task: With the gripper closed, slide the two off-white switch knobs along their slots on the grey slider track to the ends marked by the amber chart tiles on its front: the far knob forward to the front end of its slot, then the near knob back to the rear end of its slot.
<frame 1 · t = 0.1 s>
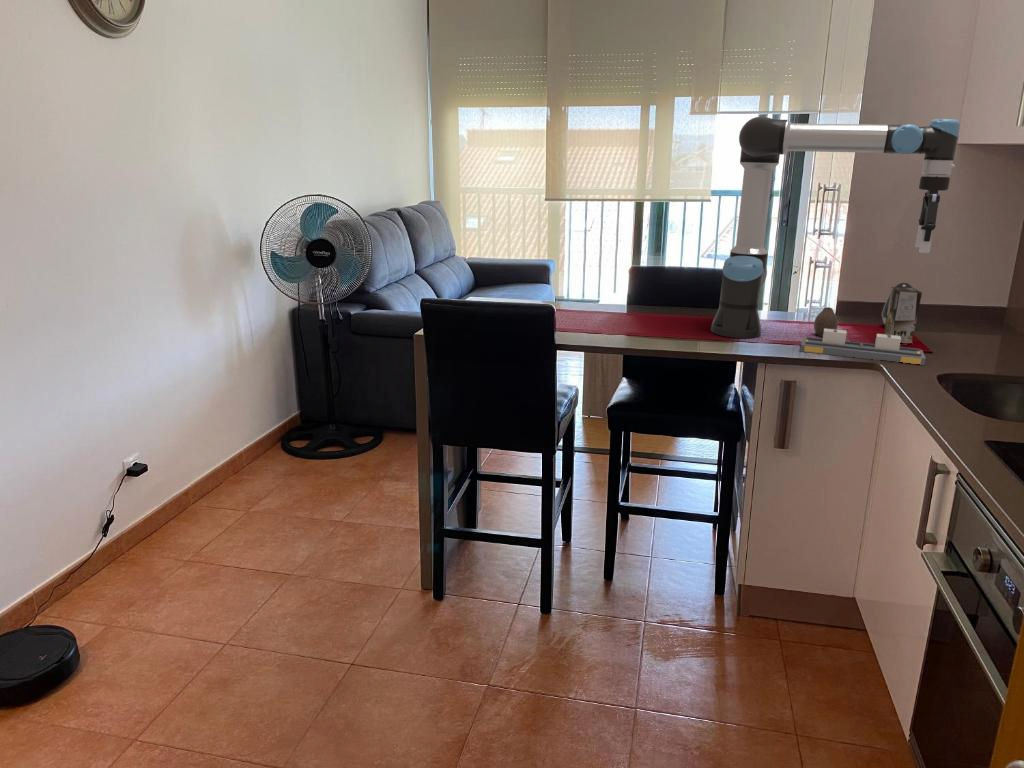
hand: (921, 250, 223), 28 cm above the worktop, tool pointing down, fingers open, 13 cm apart
slider b: (886, 350, 213), point 2 cm above the worktop, touching grey slider track
coffee box: (897, 341, 232), on the worktop
grey slider track: (860, 354, 216), on the worktop
slider a: (833, 344, 218), point 2 cm above the worktop, touching grey slider track
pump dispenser: (896, 328, 249), on the worktop
vase: (824, 336, 237), on the worktop
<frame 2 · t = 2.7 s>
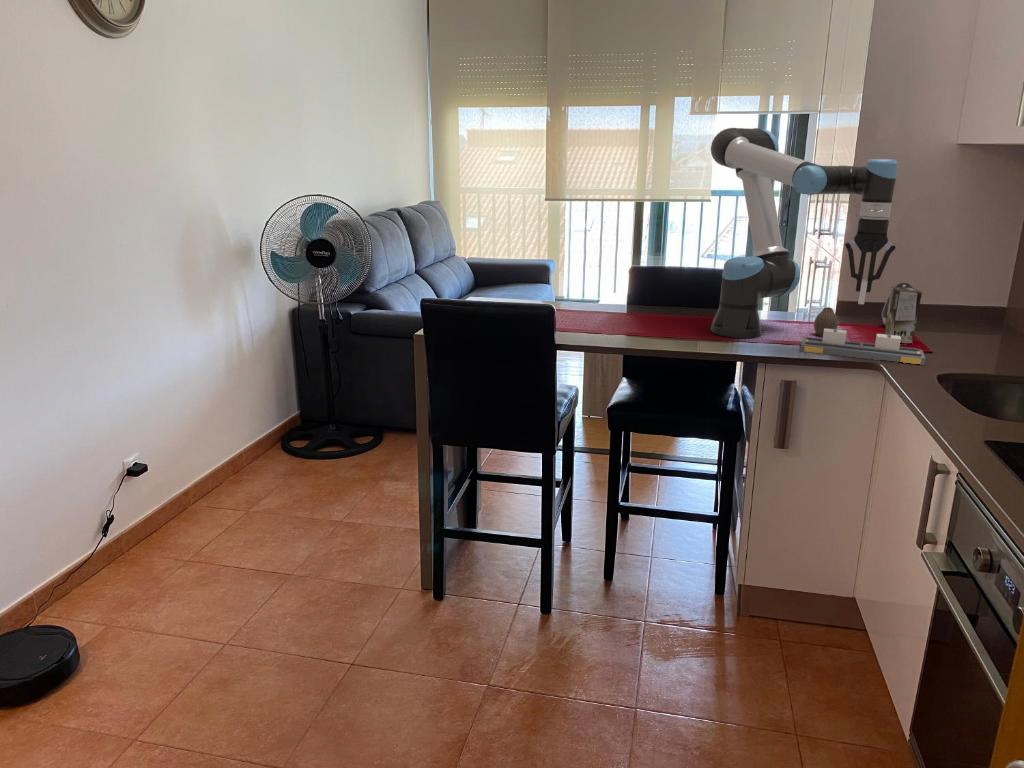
hand: (861, 303, 212), 15 cm above the worktop, tool pointing down, fingers closed
nothing on the worktop moved.
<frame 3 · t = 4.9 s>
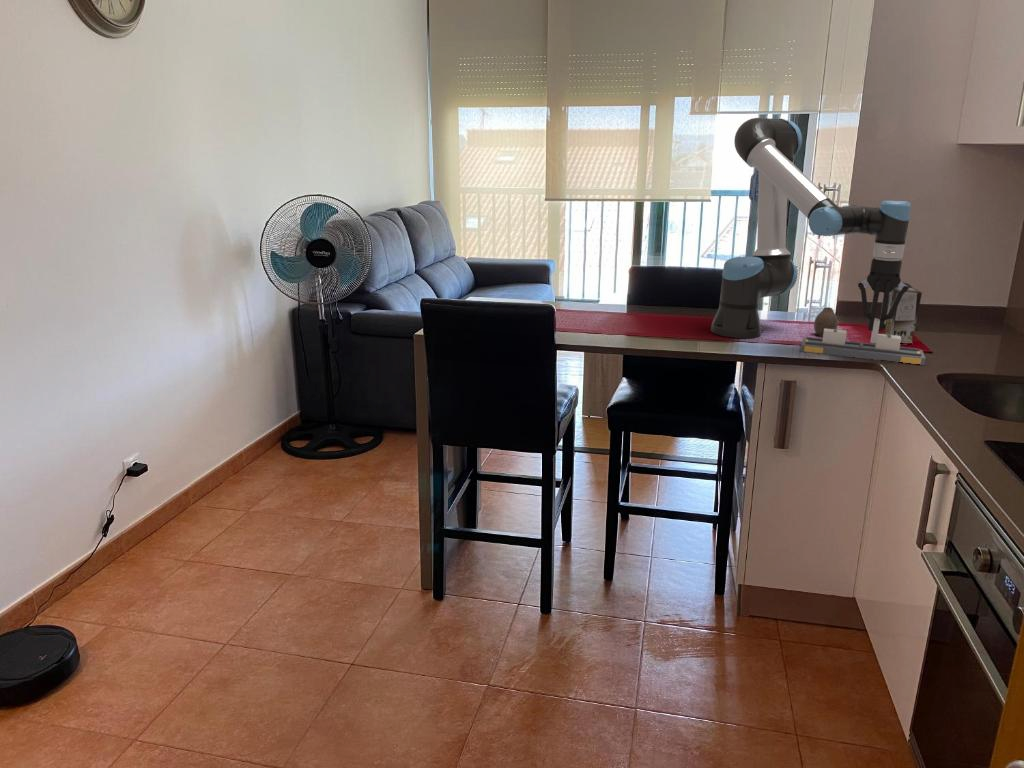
hand: (873, 342, 213), 4 cm above the worktop, tool pointing down, fingers closed
slider b: (886, 350, 213), point 2 cm above the worktop, touching gripper
everything else where it was.
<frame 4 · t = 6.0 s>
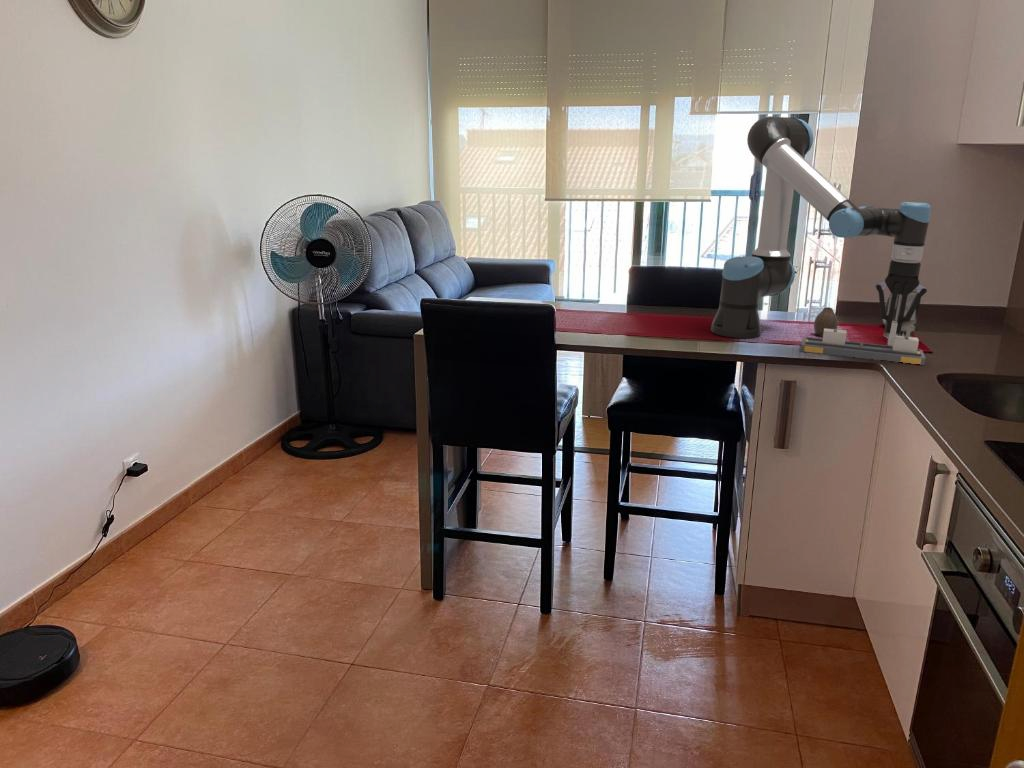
hand: (890, 344, 212), 4 cm above the worktop, tool pointing down, fingers closed
slider b: (903, 351, 211), point 2 cm above the worktop, touching grey slider track, gripper
everything else where it was.
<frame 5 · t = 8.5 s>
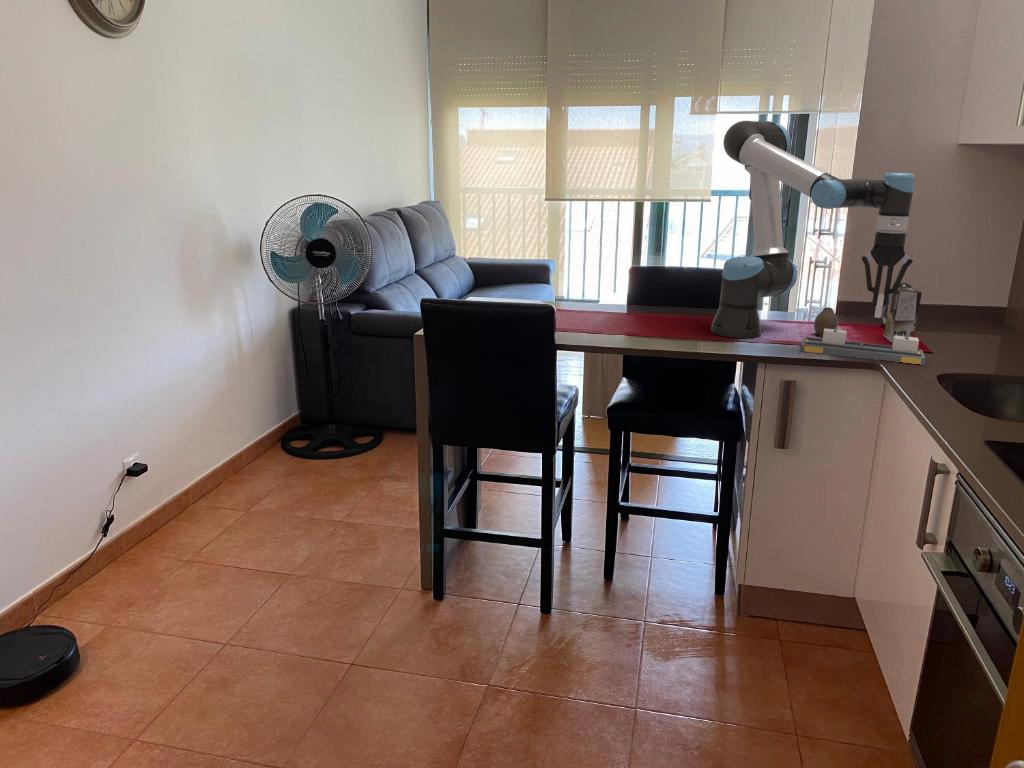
hand: (877, 316, 211), 11 cm above the worktop, tool pointing down, fingers closed
slider b: (903, 351, 211), point 2 cm above the worktop, touching grey slider track
everything else where it was.
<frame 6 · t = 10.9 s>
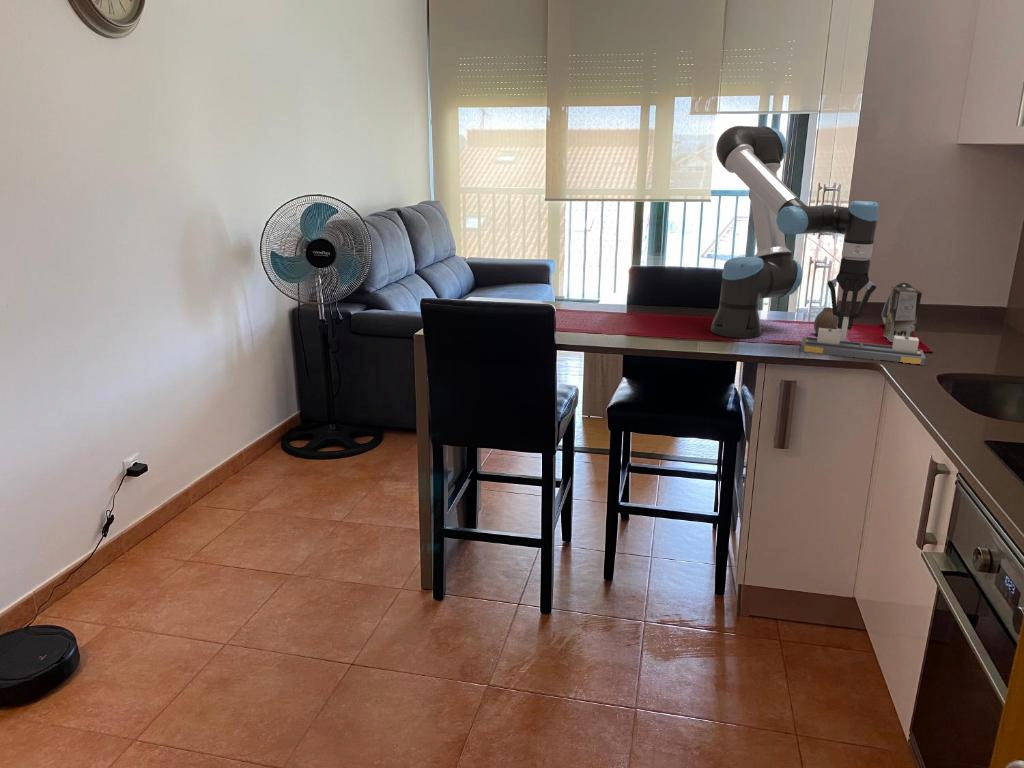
hand: (842, 340, 217), 3 cm above the worktop, tool pointing down, fingers closed
slider a: (827, 343, 218), point 2 cm above the worktop, touching gripper
everything else where it was.
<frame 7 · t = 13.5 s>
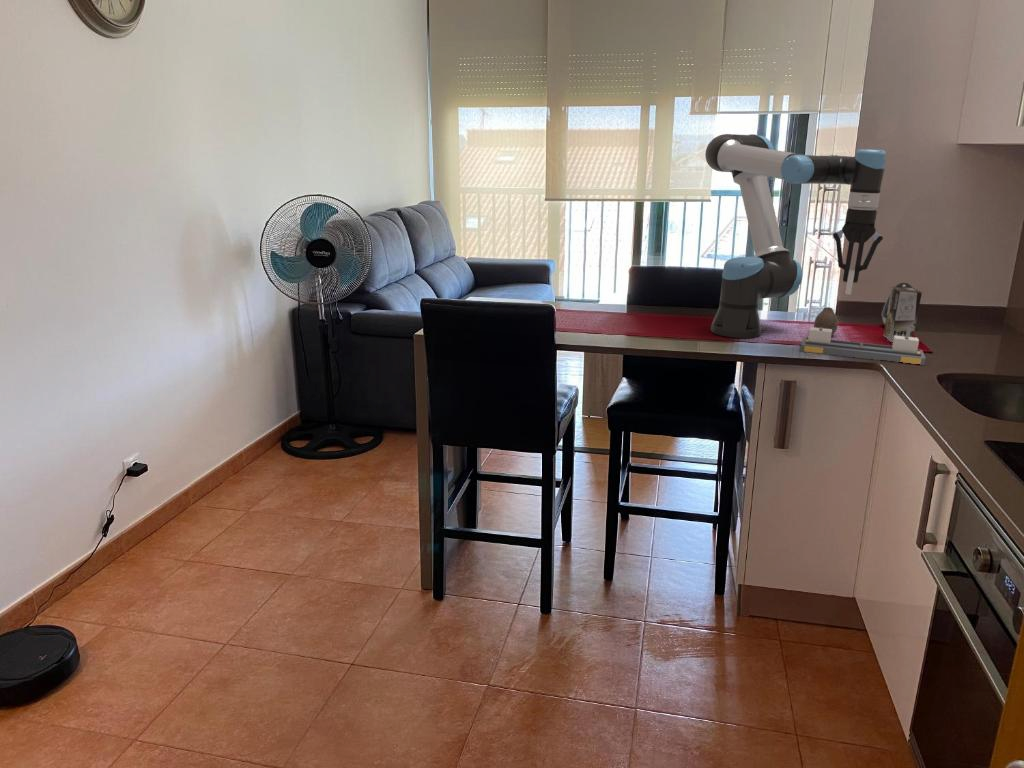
hand: (848, 293, 213), 17 cm above the worktop, tool pointing down, fingers closed
slider a: (818, 342, 219), point 2 cm above the worktop, touching grey slider track
everything else where it was.
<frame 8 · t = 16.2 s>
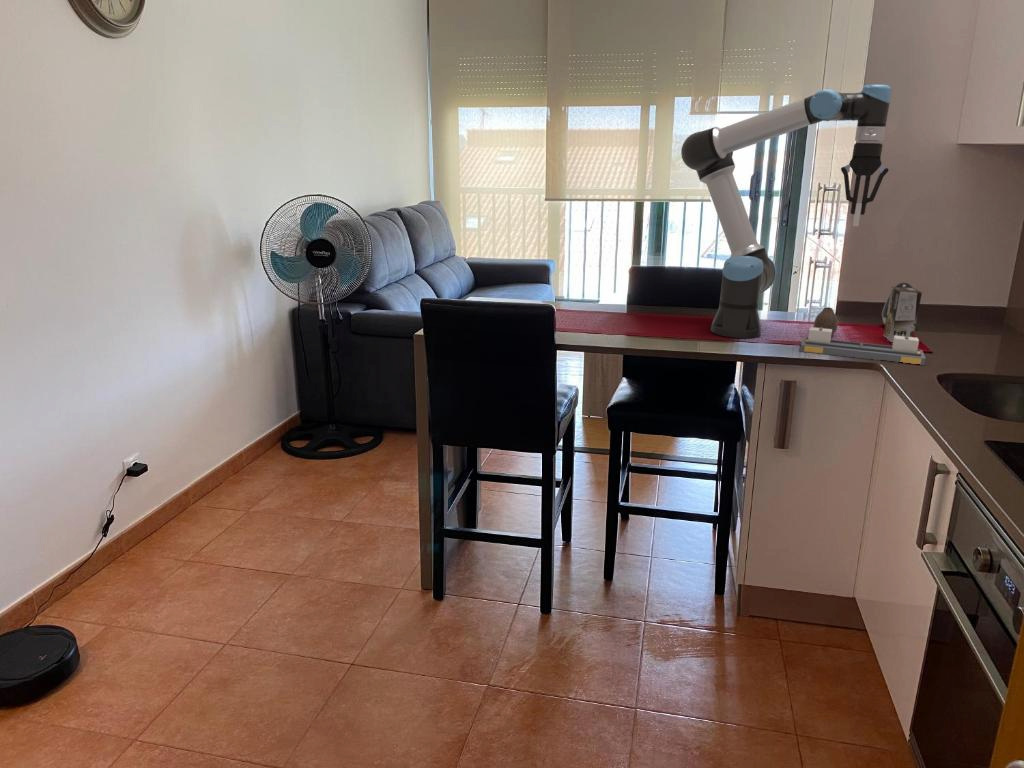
hand: (855, 225, 223), 34 cm above the worktop, tool pointing down, fingers closed
nothing on the worktop moved.
at the end: slider a 1.9 cm from the target spot, point 2.0 cm above the worktop; slider b inside the target area (2.2 cm from its centre), point 2.0 cm above the worktop; slider a tilted 0° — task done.
